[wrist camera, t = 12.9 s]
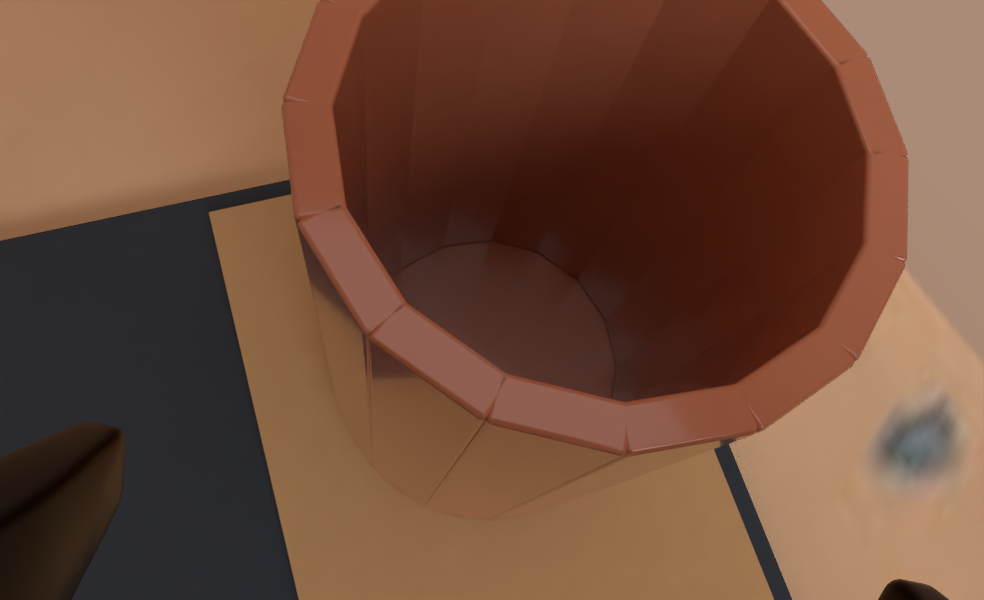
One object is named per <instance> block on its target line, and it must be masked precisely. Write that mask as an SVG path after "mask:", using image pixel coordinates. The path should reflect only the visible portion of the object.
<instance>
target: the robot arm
mask: <svg viewBox="0 0 984 600" xmlns="http://www.w3.org/2000/svg"><path fill="white" fill-rule="evenodd" d="M124 458H125V437H124V433H123V431H122V430H121V429H120V428H118V427H114V426H109V425H104V424H99V423H94V422H82V423H79V424H76V425H74V426H71V427H69V428H67V429H64V430H62V431H59V432H57V433H55V434H52V435H50V436H48V437H45V438H43V439H41V440H38V441H36V442H34V443H31V444H29V445H27V446H24V447H22V448H20V449H17V450H15V451H13V452H10V453H8V454H6V455H3V456H1V457H0V600H72V598H73V596H74V594H75V592H76V590H77V588H78V586H79V584H80V582H81V580H82V578H83V576H84V574H85V572H86V571H87V569H88V567H89V565H90V563H91V561H92V559H93V557H94V555H95V553H96V551H97V549H98V547H99V545H100V543H101V541H102V539H103V537H104V535H105V533H106V531H107V529H108V527H109V525H110V523H111V521H112V519H113V517H114V515H115V513H116V511H117V509H118V507H119V504H120V501H121V498H122V494H123V487H124ZM878 600H949V599H947V598H946V597H945V596H943V595H942V594H941V593H940V592H938V591H937V590H936V589H934V588H933V587H931V586H929V585H926V584H922V583H917V582H912V581H907V580H902V579H897V580H893V581H891V582H890V583H889V584H887V586H886V587H885V589H884V590H883V592H882V594H881V596H880V597H879V599H878Z"/></svg>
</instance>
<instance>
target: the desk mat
mask: <svg viewBox="0 0 984 600" xmlns="http://www.w3.org/2000/svg"><path fill="white" fill-rule="evenodd" d="M82 422H94V423H99V424H104V425H109V426H114V427H118V428H120V429H121V430H122V431H123V433H124V437H125V458H124V487H123V494H122V498H121V501H120V504H119V507H118V509H117V511H116V513H115V515H114V517H113V519H112V521H111V523H110V525H109V527H108V529H107V531H106V533H105V535H104V537H103V539H102V541H101V543H100V545H99V547H98V549H97V551H96V553H95V555H94V557H93V559H92V561H91V563H90V565H89V567H88V569H87V571H86V572H85V574H84V576H83V578H82V580H81V582H80V584H79V586H78V588H77V590H76V592H75V594H74V596H73V598H72V600H792V598H791V596H790V593H789V591H788V588H787V586H786V584H785V581H784V579H783V576H782V574H781V571H780V569H779V566H778V564H777V561H776V559H775V557H774V554H773V552H772V549H771V547H770V544H769V542H768V539H767V537H766V535H765V532H764V530H763V527H762V525H761V522H760V520H759V517H758V515H757V512H756V510H755V508H754V505H753V503H752V500H751V498H750V495H749V493H748V490H747V488H746V485H745V483H744V481H743V478H742V476H741V473H740V471H739V468H738V466H737V463H736V461H735V458H734V456H733V454H732V451H731V449H730V446H729V444H726V445H724V446H721V447H718V448H715V449H713V450H710V451H707V452H704V453H702V454H699V455H696V456H693V457H691V458H688V459H685V460H683V461H680V462H677V463H674V464H672V465H669V466H666V467H663V468H661V469H658V470H655V471H652V472H650V473H647V474H644V475H641V476H639V477H636V478H633V479H630V480H628V481H625V482H622V483H619V484H617V485H614V486H611V487H608V488H606V489H603V490H600V491H597V492H595V493H592V494H589V495H586V496H584V497H581V498H578V499H575V500H573V501H570V502H567V503H564V504H562V505H559V506H556V507H553V508H551V509H548V510H544V511H539V512H533V513H528V514H524V515H520V516H516V517H511V518H502V519H496V520H481V519H470V518H464V517H458V516H452V515H449V514H446V513H442V512H439V511H436V510H433V509H431V508H428V507H426V506H424V505H422V504H420V503H418V502H415V501H414V500H412V499H410V498H409V497H407V496H406V495H404V494H403V493H401V492H399V491H398V490H397V489H395V488H394V487H393V486H392V485H391V484H389V483H388V482H387V481H386V480H385V479H383V478H382V477H381V476H380V475H379V473H378V472H377V471H375V470H374V468H373V467H372V466H370V464H369V462H368V461H367V460H366V458H365V457H364V455H363V454H362V452H361V451H360V449H359V448H358V447H357V445H356V443H355V441H354V439H353V437H352V435H351V433H350V431H349V429H348V427H347V425H346V423H345V422H344V420H343V418H342V416H341V413H340V411H339V407H338V403H337V398H336V394H335V390H334V385H333V381H332V377H331V373H330V368H329V364H328V360H327V355H326V351H325V347H324V343H323V338H322V334H321V330H320V326H319V321H318V317H317V313H316V308H315V304H314V300H313V296H312V291H311V287H310V283H309V278H308V274H307V270H306V266H305V261H304V257H303V253H302V249H301V244H300V240H299V236H298V231H297V227H296V223H295V219H294V212H293V203H292V194H291V185H290V180H287V181H282V182H277V183H273V184H268V185H263V186H258V187H254V188H249V189H244V190H239V191H235V192H230V193H225V194H221V195H216V196H211V197H206V198H202V199H197V200H192V201H187V202H183V203H178V204H173V205H169V206H164V207H159V208H154V209H150V210H145V211H140V212H135V213H131V214H126V215H121V216H116V217H112V218H107V219H102V220H98V221H93V222H88V223H83V224H79V225H74V226H69V227H64V228H60V229H55V230H50V231H45V232H41V233H36V234H31V235H27V236H22V237H17V238H12V239H8V240H3V241H0V457H1V456H3V455H6V454H8V453H10V452H13V451H15V450H17V449H20V448H22V447H24V446H27V445H29V444H31V443H34V442H36V441H38V440H41V439H43V438H45V437H48V436H50V435H52V434H55V433H57V432H59V431H62V430H64V429H67V428H69V427H71V426H74V425H76V424H79V423H82Z"/></svg>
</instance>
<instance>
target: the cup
mask: <svg viewBox="0 0 984 600" xmlns="http://www.w3.org/2000/svg"><path fill="white" fill-rule="evenodd" d="M282 115H283V124H284V133H285V142H286V150H287V159H288V168H289V177H290V185H291V194H292V203H293V212H294V219H295V223H296V227H297V231H298V236H299V240H300V244H301V249H302V253H303V257H304V261H305V266H306V270H307V274H308V278H309V283H310V287H311V291H312V296H313V300H314V304H315V308H316V313H317V317H318V321H319V326H320V330H321V334H322V338H323V343H324V347H325V351H326V355H327V360H328V364H329V368H330V373H331V377H332V381H333V385H334V390H335V394H336V398H337V403H338V407H339V411H340V413H341V416H342V418H343V420H344V422H345V423H346V425H347V427H348V429H349V431H350V433H351V435H352V437H353V439H354V441H355V443H356V445H357V447H358V448H359V449H360V451H361V452H362V454H363V455H364V457H365V458H366V460H367V461H368V462H369V464H370V466H372V467H373V468H374V470H375V471H377V472H378V473H379V475H380V476H381V477H382V478H383V479H385V480H386V481H387V482H388V483H389V484H391V485H392V486H393V487H394V488H395V489H397V490H398V491H399V492H401V493H403V494H404V495H406V496H407V497H409V498H410V499H412V500H414V501H415V502H418V503H420V504H422V505H424V506H426V507H428V508H431V509H433V510H436V511H439V512H442V513H446V514H449V515H452V516H458V517H464V518H470V519H481V520H496V519H502V518H511V517H516V516H520V515H524V514H528V513H533V512H539V511H544V510H548V509H551V508H553V507H556V506H559V505H562V504H564V503H567V502H570V501H573V500H575V499H578V498H581V497H584V496H586V495H589V494H592V493H595V492H597V491H600V490H603V489H606V488H608V487H611V486H614V485H617V484H619V483H622V482H625V481H628V480H630V479H633V478H636V477H639V476H641V475H644V474H647V473H650V472H652V471H655V470H658V469H661V468H663V467H666V466H669V465H672V464H674V463H677V462H680V461H683V460H685V459H688V458H691V457H693V456H696V455H699V454H702V453H704V452H707V451H710V450H713V449H715V448H718V447H721V446H724V445H726V444H729V443H732V442H735V441H737V440H740V439H743V438H746V437H748V436H751V435H753V434H755V433H758V432H761V431H763V430H765V429H766V428H768V427H769V426H770V425H772V424H773V423H775V422H776V421H777V420H779V419H780V418H782V417H783V416H784V415H786V414H787V413H788V412H790V411H791V410H793V409H794V408H795V407H797V406H798V405H800V404H801V403H802V402H804V401H805V400H806V399H808V398H809V397H811V396H812V395H813V394H815V393H816V392H817V391H819V390H820V389H822V388H823V387H824V386H826V385H827V384H829V383H830V382H831V381H833V380H834V379H835V378H837V377H838V376H840V375H841V374H842V373H844V372H845V371H847V370H848V369H849V368H851V367H852V366H853V364H854V362H855V361H856V360H857V359H859V357H860V355H861V353H862V351H863V349H864V347H865V345H866V343H867V341H868V339H869V337H870V335H871V333H872V331H873V329H874V327H875V325H876V323H877V321H878V319H879V317H880V315H881V313H882V311H883V309H884V307H885V306H886V304H887V302H888V300H889V298H890V296H891V294H892V292H893V290H894V288H895V286H896V284H897V282H898V280H899V278H900V276H901V274H902V272H903V270H904V268H905V261H906V259H907V228H908V227H907V226H908V158H907V157H906V156H907V150H906V148H905V145H904V143H903V140H902V137H901V135H900V132H899V130H898V127H897V125H896V122H895V120H894V117H893V115H892V112H891V110H890V107H889V105H888V102H887V100H886V97H885V94H884V92H883V89H882V87H881V84H880V82H879V79H878V77H877V74H876V72H875V69H874V67H873V64H872V62H871V60H870V59H869V58H867V53H866V52H865V50H864V49H863V48H862V47H861V46H860V45H859V43H858V42H857V41H856V40H855V39H854V38H853V36H851V34H850V33H849V32H848V31H847V29H846V28H845V27H844V26H843V25H842V24H841V22H840V21H839V20H838V19H837V18H836V17H835V16H834V14H833V13H832V12H831V11H830V10H829V8H828V7H827V6H826V5H825V4H824V3H823V1H822V0H320V1H319V2H318V4H317V6H316V9H315V12H314V14H313V17H312V20H311V23H310V25H309V28H308V31H307V34H306V36H305V39H304V42H303V44H302V47H301V50H300V53H299V55H298V58H297V61H296V63H295V66H294V69H293V72H292V74H291V77H290V80H289V82H288V85H287V88H286V91H285V93H284V96H283V105H282Z"/></svg>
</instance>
